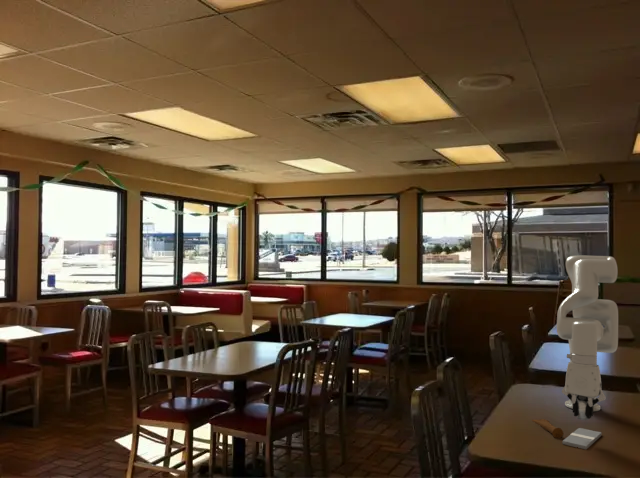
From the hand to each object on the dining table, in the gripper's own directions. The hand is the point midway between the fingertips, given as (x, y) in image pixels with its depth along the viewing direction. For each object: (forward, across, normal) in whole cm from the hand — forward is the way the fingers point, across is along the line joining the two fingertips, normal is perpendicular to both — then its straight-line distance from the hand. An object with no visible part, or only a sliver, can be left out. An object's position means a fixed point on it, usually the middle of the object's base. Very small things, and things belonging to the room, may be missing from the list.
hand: (582, 416), depth 185 cm
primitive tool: (+8, -13, +4) cm, 16 cm away
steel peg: (+1, 0, 0) cm, 1 cm away
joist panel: (+8, 0, 0) cm, 8 cm away
